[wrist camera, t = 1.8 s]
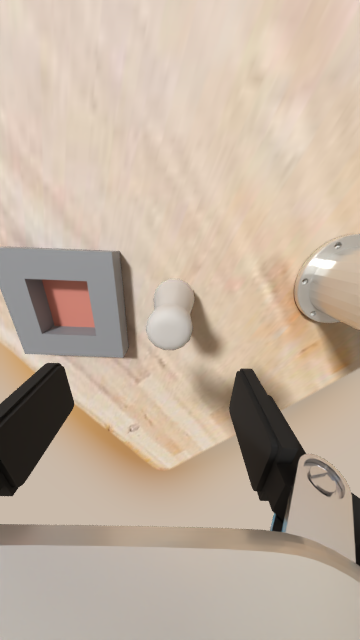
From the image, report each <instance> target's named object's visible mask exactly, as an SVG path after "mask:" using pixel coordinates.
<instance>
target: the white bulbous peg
mask: <svg viewBox="0 0 360 640" xmlns="http://www.w3.org/2000/svg"><path fill="white" fill-rule="evenodd" d="M194 301H195V298H194V292H193V290H192V289H191V287H190V286H189V285H188V283H186V282H184V281H182V280H180V279H168V280H166V281H164V282H162V283H161V284H160V285H159V286H158V287H157V289H156V290H155V294H154V311H153V312H152V313H151V314H150V316H149V317H148V321H147V326H146V332H147V335H148V338H149V340H150V341H151V342H152V343H153V344H154V345H155V346H156V347H159V348H161V349H163V350H176V349H179V348H181V347H183V346H184V345H185V344H186V343H187V342H188V341H189V340H190V337H191V334H192V330H193V326H192V321H191V316H190V313H191V310H192V308H193V304H194Z"/></svg>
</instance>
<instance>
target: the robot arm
mask: <svg viewBox="0 0 360 640" xmlns="http://www.w3.org/2000/svg"><path fill="white" fill-rule="evenodd" d="M294 298H295V301H296V305H297V306H298V308H299V310H300V311H301V312H302V313H303V314H304V315H306V316H307V317H309V318H310V319H313V320H315V321H317V322H322V323H336V322H343V323H345V324H347V325H349V326H351V327H353V328H355V329H357V330H359V331H360V234H351V235H345V236H341V237H338V238H335V239H333V240H331V241H329V242H327V243H326V244H324V245H323V246H321V247H320V248H319V249H317V250H316V251H315V252H314V253H313V254H312V255H311V256H310V257H309V258H308V259H307V261H306V262H305V263H304V265H303V266H302V268H301V270H300V272H299V273H298V276H297V279H296V282H295V288H294ZM73 407H74V400H73V397H72V393H71V390H70V386H69V383H68V379H67V376H66V372H65V369H64V367H63V366H62V365H61V364H59V363H46V364H45V365H44V366H43V367H41V368H40V369H39V370H38V371H37V372H36V373H35V374H34V375H32V376H31V377H30V378H29V379H28V380H27V381H26V382H25V383H23V384H22V385H21V386H20V387H19V388H18V389H17V390H16V391H14V392H13V393H12V394H11V395H10V396H9V397H8V398H6V399H5V400H4V401H3V402H2V403H1V404H0V496H13V495H14V493H15V492H16V490H17V489H18V487H20V486H21V485H23V484H24V483H25V481H26V480H27V478H28V476H29V475H30V474H31V472H32V471H33V469H34V467H35V466H36V465H37V463H38V461H39V460H40V458H41V457H42V455H43V454H44V452H45V451H46V449H47V448H48V446H49V445H50V443H51V441H52V440H53V438H54V437H55V435H56V434H57V432H58V431H59V429H60V428H61V426H62V425H63V423H64V422H65V420H66V418H67V417H68V416H69V414H70V412H71V411H72V409H73ZM229 410H230V415H231V419H232V422H233V425H234V429H235V432H236V435H237V438H238V442H239V445H240V449H241V452H242V456H243V459H244V462H245V465H246V469H247V472H248V476H249V479H250V482H251V486H252V488H253V490H254V491H257V492H258V496H259V499H260V500H261V501H269V503H270V506H271V509H272V511H273V512H274V515H273V519H272V524H271V528H270V531H266V530H252V529H232V528H203V527H157V526H98V525H97V526H96V525H95V526H94V525H14V524H13V525H12V524H10V525H9V524H0V640H360V498H358V497H357V496H355V495H354V494H353V493H351V490H350V487H349V485H348V483H347V481H346V479H345V478H344V477H343V476H342V474H341V473H340V472H339V471H338V470H337V469H336V468H335V467H334V466H333V465H332V464H331V463H329V462H328V461H326V460H325V459H323V458H321V457H319V456H317V455H313V454H306V453H305V451H304V450H303V448H302V446H301V445H300V443H299V441H298V440H297V438H296V436H295V435H294V433H293V431H292V430H291V428H290V426H289V425H288V423H287V421H286V420H285V418H284V416H283V415H282V413H281V411H280V410H279V408H278V406H277V405H276V403H275V401H274V400H273V398H272V397H271V396H270V395H267V393H266V392H265V390H264V388H263V386H262V385H261V383H260V381H259V380H258V378H257V376H256V374H255V373H254V371H253V370H252V369H240V371H237V373H236V377H235V382H234V387H233V392H232V397H231V401H230V407H229Z"/></svg>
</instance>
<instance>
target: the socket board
mask: <svg viewBox="0 0 360 640" xmlns="http://www.w3.org/2000/svg"><path fill="white" fill-rule="evenodd" d="M0 289H1V292H2V294H3V297H4V299H5V302H6V305H7V307H8V310H9V313H10V315H11V318H12V320H13V323H14V326H15V328H16V331H17V334H18V336H19V339H20V341H21V344H22V347H23V349H24V352H25V354H46V355H71V356H95V357H120V358H124V356H125V354H126V352H127V350H128V348H129V345H128V334H127V324H126V314H125V303H124V293H123V282H122V272H121V261H120V251H102V250H77V249H52V248H26V247H0Z"/></svg>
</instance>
